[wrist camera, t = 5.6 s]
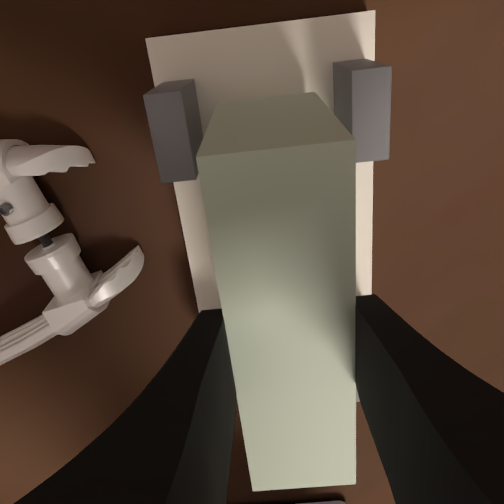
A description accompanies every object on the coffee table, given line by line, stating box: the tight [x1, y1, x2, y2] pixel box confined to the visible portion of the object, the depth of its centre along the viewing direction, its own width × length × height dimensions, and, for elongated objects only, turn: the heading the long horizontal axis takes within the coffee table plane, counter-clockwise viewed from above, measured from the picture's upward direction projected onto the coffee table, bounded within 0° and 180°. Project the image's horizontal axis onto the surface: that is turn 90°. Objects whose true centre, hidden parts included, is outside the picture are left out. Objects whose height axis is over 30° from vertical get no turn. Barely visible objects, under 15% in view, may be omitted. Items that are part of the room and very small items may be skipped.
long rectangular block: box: [196, 92, 356, 491], centre depth 13 cm, size 10×3×6 cm, turn 6°
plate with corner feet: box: [143, 10, 392, 402], centre depth 16 cm, size 14×7×4 cm, turn 6°
